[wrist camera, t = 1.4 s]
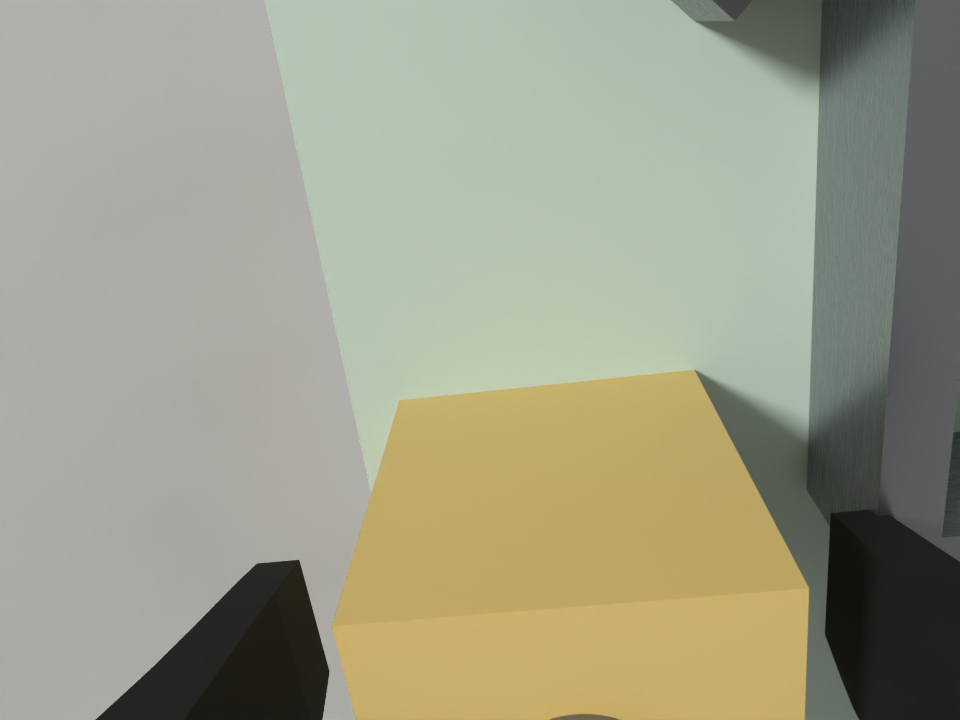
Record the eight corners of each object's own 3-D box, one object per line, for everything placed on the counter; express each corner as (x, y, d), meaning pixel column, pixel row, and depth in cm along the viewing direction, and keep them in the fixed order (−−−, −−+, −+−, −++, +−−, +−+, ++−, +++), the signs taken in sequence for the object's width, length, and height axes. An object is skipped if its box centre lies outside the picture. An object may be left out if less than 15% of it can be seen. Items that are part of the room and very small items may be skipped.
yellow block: (701, 608, 14) (807, 934, 9) (442, 628, 14) (405, 951, 9) (694, 369, 12) (819, 610, 7) (399, 400, 12) (325, 649, 7)
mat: (1258, 822, 16) (1276, 842, 15) (456, 865, 17) (455, 884, 17) (1849, -846, 7) (1922, -894, 7) (167, -498, 9) (151, -523, 8)
